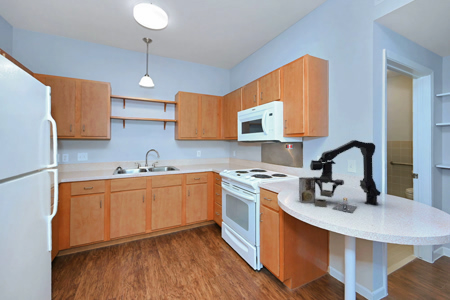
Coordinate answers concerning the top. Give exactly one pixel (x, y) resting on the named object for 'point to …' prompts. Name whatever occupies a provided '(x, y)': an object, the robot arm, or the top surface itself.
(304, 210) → the top surface
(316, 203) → the link
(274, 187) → the top surface
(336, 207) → the keeper
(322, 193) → the link
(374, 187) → the robot arm
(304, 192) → the coffee box
